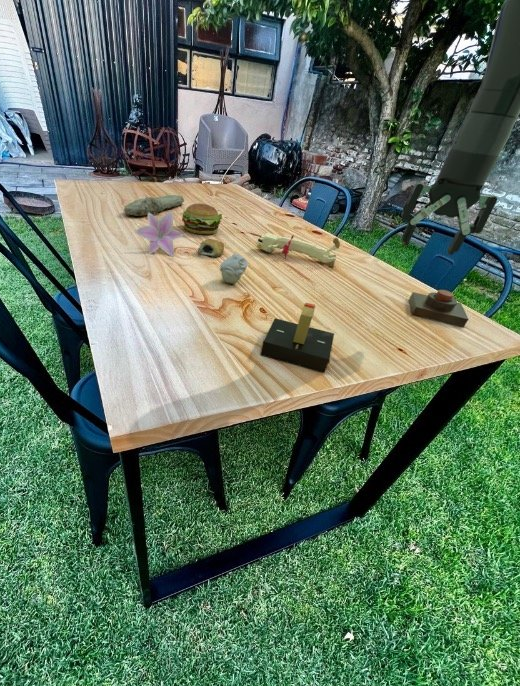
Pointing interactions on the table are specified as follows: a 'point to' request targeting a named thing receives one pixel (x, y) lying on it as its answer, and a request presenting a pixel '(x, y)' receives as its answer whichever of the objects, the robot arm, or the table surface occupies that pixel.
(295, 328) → the plate
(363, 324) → the table surface
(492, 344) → the table surface
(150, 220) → the lily
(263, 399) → the table surface
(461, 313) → the brown base
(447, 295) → the bell button
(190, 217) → the food
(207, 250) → the pastry
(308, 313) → the lock knob
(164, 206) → the elongated rock
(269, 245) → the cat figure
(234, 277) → the frog figurine
